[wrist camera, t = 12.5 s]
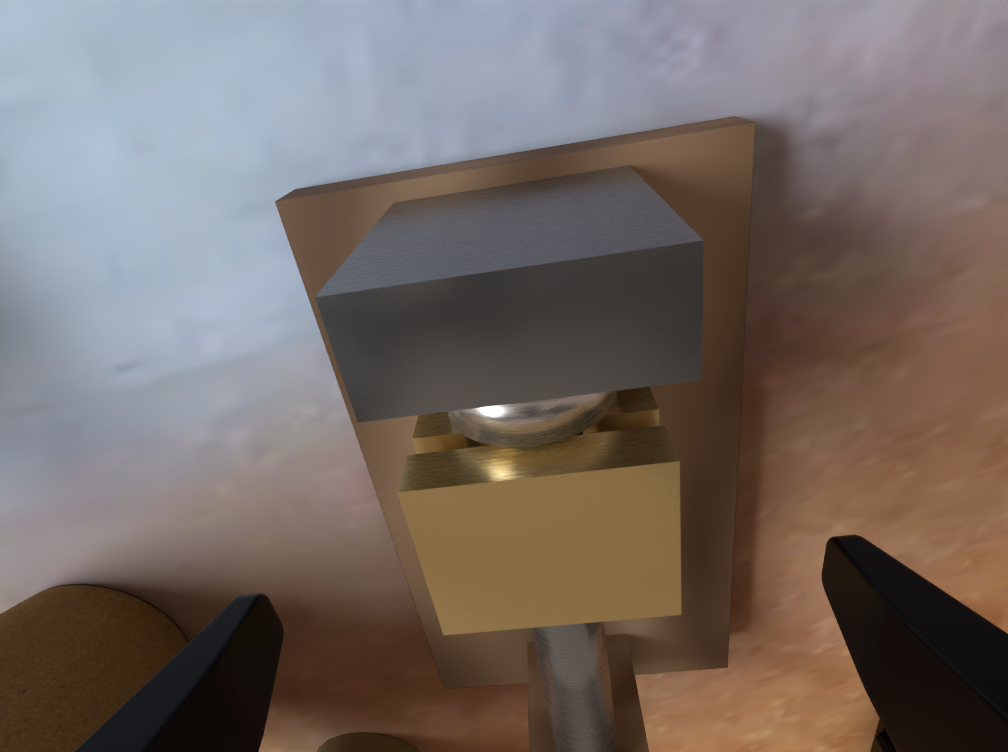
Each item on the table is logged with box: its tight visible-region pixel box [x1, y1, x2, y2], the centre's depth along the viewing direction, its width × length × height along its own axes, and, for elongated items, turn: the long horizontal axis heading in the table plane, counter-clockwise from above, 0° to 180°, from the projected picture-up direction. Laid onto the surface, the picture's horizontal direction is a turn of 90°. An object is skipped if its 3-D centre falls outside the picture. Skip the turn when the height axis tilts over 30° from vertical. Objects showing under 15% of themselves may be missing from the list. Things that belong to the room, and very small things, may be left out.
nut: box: [397, 387, 681, 635], centre depth 13 cm, size 5×4×5 cm
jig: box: [275, 117, 755, 752], centre depth 17 cm, size 12×21×7 cm, turn 9°
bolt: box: [315, 165, 704, 752], centre depth 16 cm, size 6×19×6 cm, turn 9°
